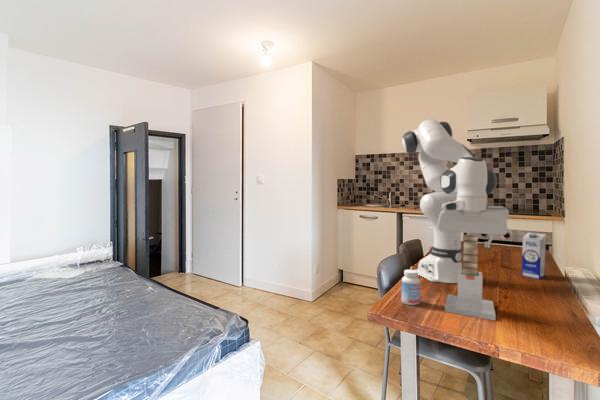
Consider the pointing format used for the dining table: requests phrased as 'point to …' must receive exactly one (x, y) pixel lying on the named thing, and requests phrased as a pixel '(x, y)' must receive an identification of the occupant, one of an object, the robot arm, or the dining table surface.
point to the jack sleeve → (470, 298)
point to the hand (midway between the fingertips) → (470, 246)
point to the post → (470, 255)
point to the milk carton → (534, 255)
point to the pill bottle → (410, 288)
